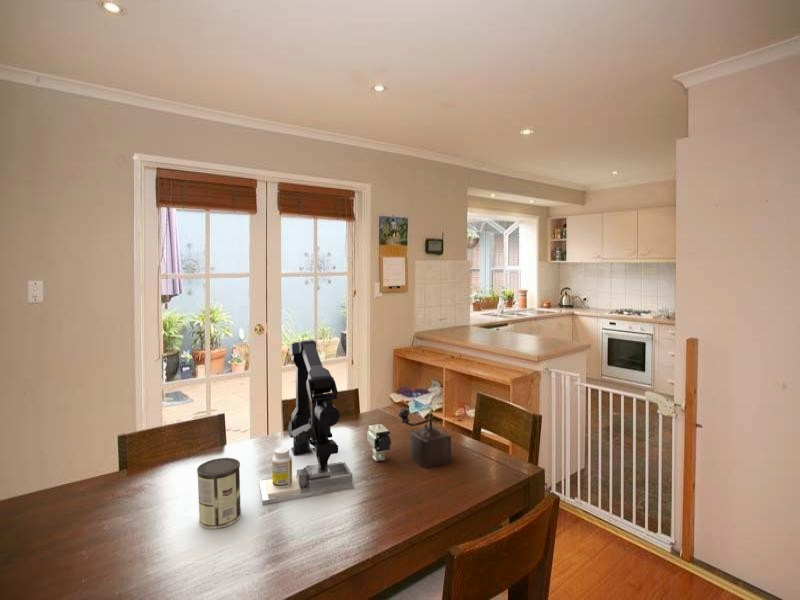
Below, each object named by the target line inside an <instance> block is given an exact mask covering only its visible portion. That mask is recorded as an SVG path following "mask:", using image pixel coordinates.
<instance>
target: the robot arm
mask: <svg viewBox="0 0 800 600" xmlns="http://www.w3.org/2000/svg"><path fill="white" fill-rule="evenodd" d="M317 349H318V348H317V342H316V340H313V339H304V340H301V341H292V343H291V344H290V345H289V346H288V353H289V356H290V359H291V361H292V362H293V364H294V366H295V408H294V410H293V411H292V413H291V415H290V416H291V417H290V418H291V420H289V424H288V427H287V431H288V436H289V438H291V439H293V442H292V444H293V445H292V447H291V448H290V449H291V452H292V455H293V456H299V455H301V456H302V455H307V454H308V455H309V454H312V453H313V452H314V454H315V456H316V460H317V461H318V458H319V463H320V468H321V469H324V468H325V466H326V464H327V462H328V461H329V459H330V457H331V455H336V454H338V453H339V445H338V443H337V442H336V441H335V440H334V439H329V438H333V433H332V431H331V427H333V426H335V425H336V424H337V423H338V422H339V421H340V417H341V415H340V412H339V409H338V408H337V407H336V406H335V405H334V404H333V403H334V402H333V400H337V399H338V394H339V391H338V388H337V384H336V383H337V382H336V380H335V379H334V377H333V376H332V374H331V373H330V370H329V369H328V368H325V367H324V366H323V363H322V361H321V359H320V355H319V353H318V350H317ZM311 446H312V447H313V448H311ZM328 463H329V462H328Z"/></svg>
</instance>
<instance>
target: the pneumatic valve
mask: <svg viewBox="0 0 800 600" xmlns="http://www.w3.org/2000/svg"><path fill="white" fill-rule="evenodd" d="M365 437H366V439H365V440H366V441H367V443H368V444H369V445H370V446H371V447H372V459H373V460H374V461H375V462H376V463H377V462H379V461H385V460H386V458H385V455H386V451H389V450H390V449H391V448H390V447H391V443H392V440H391V432H390V430H389V429H388V428H386V427H385V425H383V424H382V423H381V422H379V423H378V422H377V423H372V424H368V425H367V430H366V434H365Z"/></svg>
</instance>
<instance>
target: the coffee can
mask: <svg viewBox="0 0 800 600" xmlns="http://www.w3.org/2000/svg"><path fill="white" fill-rule="evenodd" d="M240 467H241V463H240V461H239V460H238V459H236V458H231V457H220V458H215V459H210V460H208V461H205V462H203V463H201V464H200V465H199V466H198V467H197V469H196V474H197V487H198V488H197V491H198V513H199V517H198V518H199V520H198V523H199V526H200V527H202V528H205V529H207V528H208V529H209V530H218V528H219V529H223V528H226V526H227V527H229V526H232V525H233V524H235V523H236V522H238V520H239V519H240V518H241V516H242V511H241V510H242V509H241V487H240V486H241V479H240Z"/></svg>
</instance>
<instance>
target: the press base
mask: <svg viewBox="0 0 800 600" xmlns="http://www.w3.org/2000/svg"><path fill="white" fill-rule="evenodd" d="M328 468H329V470H330V477H327V478H321V479H315V480H309V484H306V485H300V492H294V493H288V494H282V495H277V496H271V497H268V495H267V490H266V485H265V480H260V481H259V489H260V495H261V501H262V505H268V504H274V503H280V502H286V501H287V502H288V501H290V500H297V499H298V500H299V499H302V498H309V497H314V496H320V495H325V494H330V493H336V492H337V493H338V492H343V491H346V490H348V491H349V490H353V489H355V484H354V482H353V481H354V480H353V473H352V471H351V470H350V468H349V467H348V464H347V463H346V462H345V461H344V462H342V461H339V462H338V461H337V462H332V463H328ZM303 469H306V467H303ZM296 478H297V475H296Z"/></svg>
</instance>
